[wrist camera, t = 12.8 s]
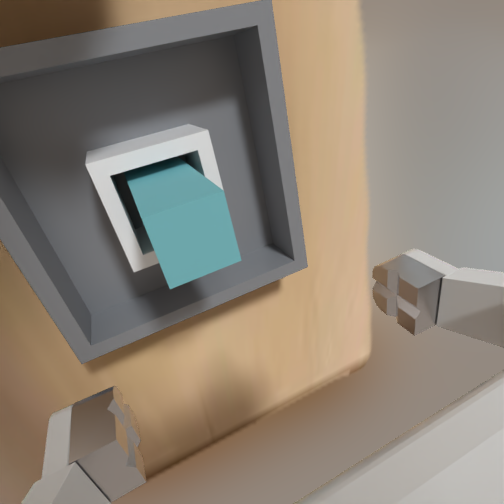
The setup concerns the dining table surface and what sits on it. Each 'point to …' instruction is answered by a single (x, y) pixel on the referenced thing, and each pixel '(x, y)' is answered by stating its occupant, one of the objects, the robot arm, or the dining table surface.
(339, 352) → the dining table surface
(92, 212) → the inlet box
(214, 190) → the connector peg
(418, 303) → the robot arm
